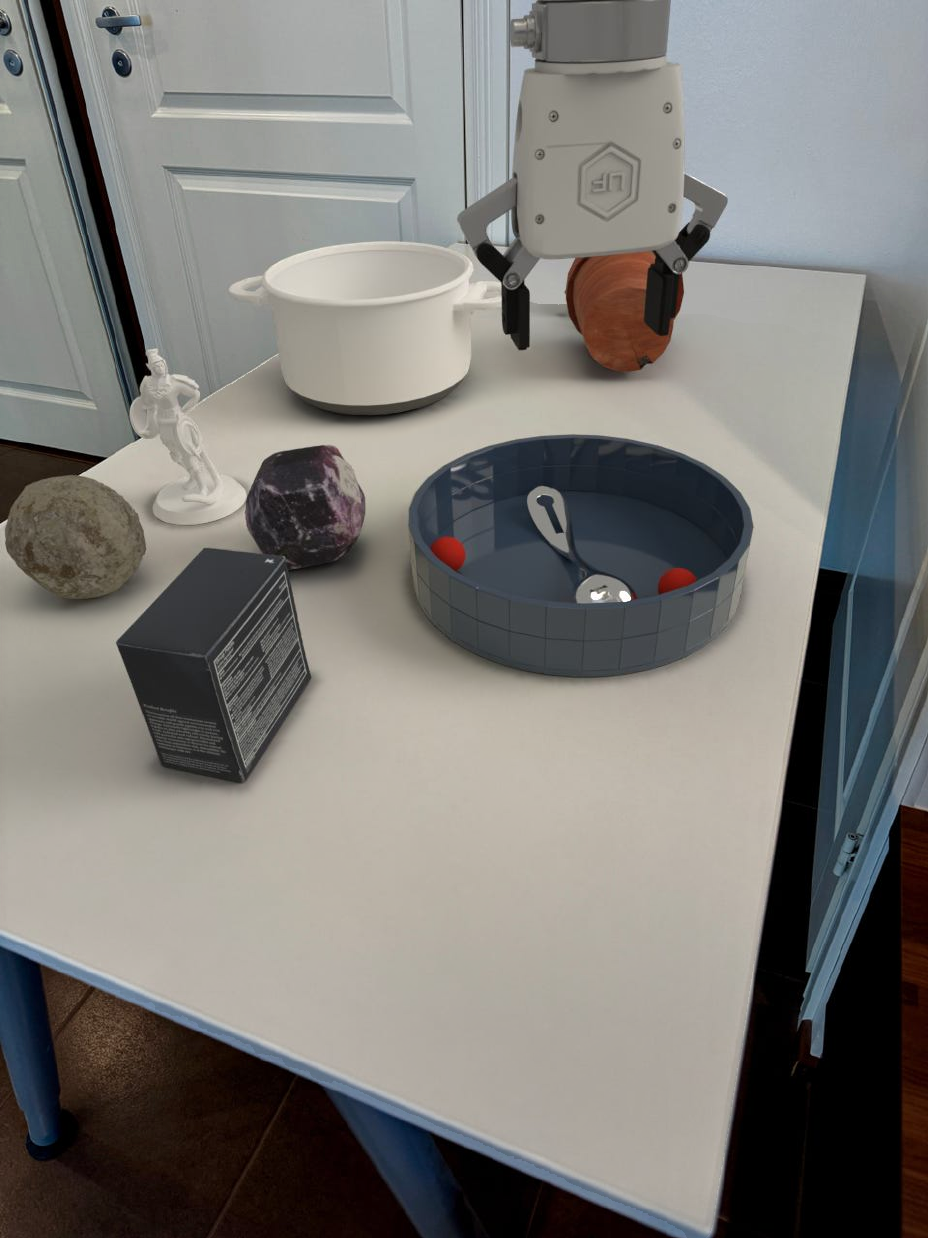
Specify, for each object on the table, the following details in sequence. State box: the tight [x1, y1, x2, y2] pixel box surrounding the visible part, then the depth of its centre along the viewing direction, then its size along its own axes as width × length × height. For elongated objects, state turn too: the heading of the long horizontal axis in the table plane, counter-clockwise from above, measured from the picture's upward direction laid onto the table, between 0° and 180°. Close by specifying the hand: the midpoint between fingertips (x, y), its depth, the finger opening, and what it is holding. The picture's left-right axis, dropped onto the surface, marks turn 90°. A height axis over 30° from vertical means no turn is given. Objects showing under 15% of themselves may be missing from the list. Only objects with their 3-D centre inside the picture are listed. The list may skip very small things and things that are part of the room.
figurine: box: [129, 347, 248, 526], centre depth 79 cm, size 9×9×15 cm
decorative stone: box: [4, 474, 147, 600], centre depth 70 cm, size 10×8×10 cm
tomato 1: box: [430, 537, 465, 572], centre depth 71 cm, size 3×3×3 cm
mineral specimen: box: [244, 444, 366, 571], centre depth 73 cm, size 10×10×10 cm
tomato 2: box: [658, 568, 697, 595], centre depth 66 cm, size 3×3×3 cm
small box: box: [115, 547, 312, 783], centre depth 56 cm, size 11×6×10 cm, turn 164°
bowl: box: [407, 433, 754, 678], centre depth 70 cm, size 26×26×6 cm
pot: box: [228, 240, 502, 416], centre depth 100 cm, size 33×23×14 cm
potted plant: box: [563, 251, 685, 373], centre depth 112 cm, size 16×15×35 cm
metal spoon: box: [527, 486, 637, 604], centre depth 71 cm, size 20×4×5 cm
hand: (588, 336), depth 60 cm, fingers open, 9 cm apart
